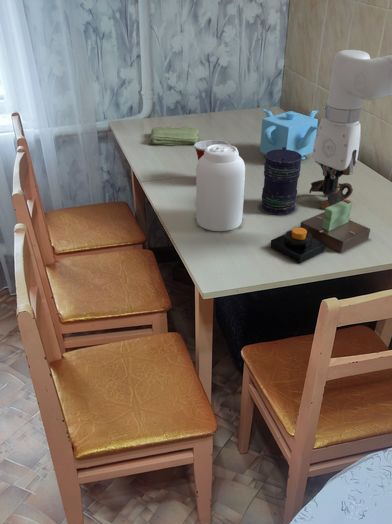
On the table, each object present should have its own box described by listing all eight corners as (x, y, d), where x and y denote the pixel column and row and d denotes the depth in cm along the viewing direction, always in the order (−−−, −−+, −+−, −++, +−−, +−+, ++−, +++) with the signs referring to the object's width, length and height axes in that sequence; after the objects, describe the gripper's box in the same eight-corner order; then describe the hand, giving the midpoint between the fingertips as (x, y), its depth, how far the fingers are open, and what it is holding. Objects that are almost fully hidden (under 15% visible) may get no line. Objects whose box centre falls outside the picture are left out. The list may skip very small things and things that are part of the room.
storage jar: (262, 199, 160) (267, 136, 148) (295, 201, 158) (303, 138, 147) (259, 214, 152) (265, 149, 141) (294, 216, 151) (303, 151, 139)
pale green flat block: (328, 231, 138) (332, 210, 134) (321, 228, 139) (325, 207, 135) (348, 222, 142) (352, 201, 138) (341, 219, 143) (345, 198, 139)
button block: (323, 251, 136) (326, 237, 133) (299, 263, 131) (301, 249, 129) (294, 237, 142) (296, 223, 139) (270, 247, 137) (271, 233, 135)
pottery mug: (311, 211, 154) (307, 182, 153) (312, 212, 163) (308, 184, 162) (355, 203, 151) (351, 173, 150) (353, 204, 160) (349, 176, 159)
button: (308, 237, 134) (309, 231, 133) (299, 242, 132) (300, 235, 131) (298, 232, 136) (298, 225, 135) (288, 236, 134) (289, 230, 133)
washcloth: (198, 146, 194) (198, 136, 192) (149, 145, 194) (149, 136, 192) (198, 133, 204) (198, 125, 202) (151, 133, 204) (151, 125, 202)
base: (369, 238, 141) (372, 227, 139) (339, 253, 135) (341, 242, 133) (327, 219, 149) (329, 209, 147) (297, 233, 143) (299, 222, 141)
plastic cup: (220, 173, 175) (221, 135, 167) (233, 186, 167) (235, 147, 159) (188, 178, 172) (188, 139, 164) (200, 191, 164) (201, 151, 156)
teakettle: (259, 166, 180) (263, 120, 170) (259, 146, 194) (263, 102, 184) (316, 168, 178) (323, 122, 169) (312, 148, 193) (319, 104, 183)
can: (194, 231, 144) (195, 156, 131) (197, 211, 153) (197, 139, 141) (242, 233, 143) (246, 158, 130) (241, 212, 153) (246, 140, 140)
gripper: (306, 108, 123) (295, 186, 135) (358, 126, 114) (342, 207, 126) (328, 102, 127) (316, 178, 139) (380, 119, 118) (363, 198, 130)
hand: (328, 192), depth 132 cm, fingers closed
